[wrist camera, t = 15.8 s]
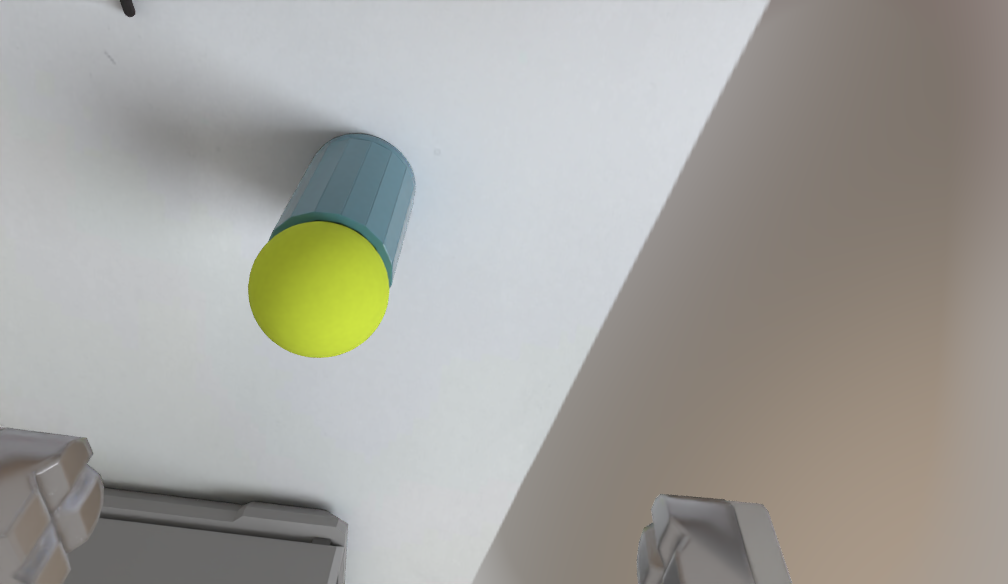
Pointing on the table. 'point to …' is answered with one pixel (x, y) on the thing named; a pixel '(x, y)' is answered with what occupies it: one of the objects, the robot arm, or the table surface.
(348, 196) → the cup
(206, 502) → the laptop
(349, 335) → the tennis ball
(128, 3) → the glasses
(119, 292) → the table surface
